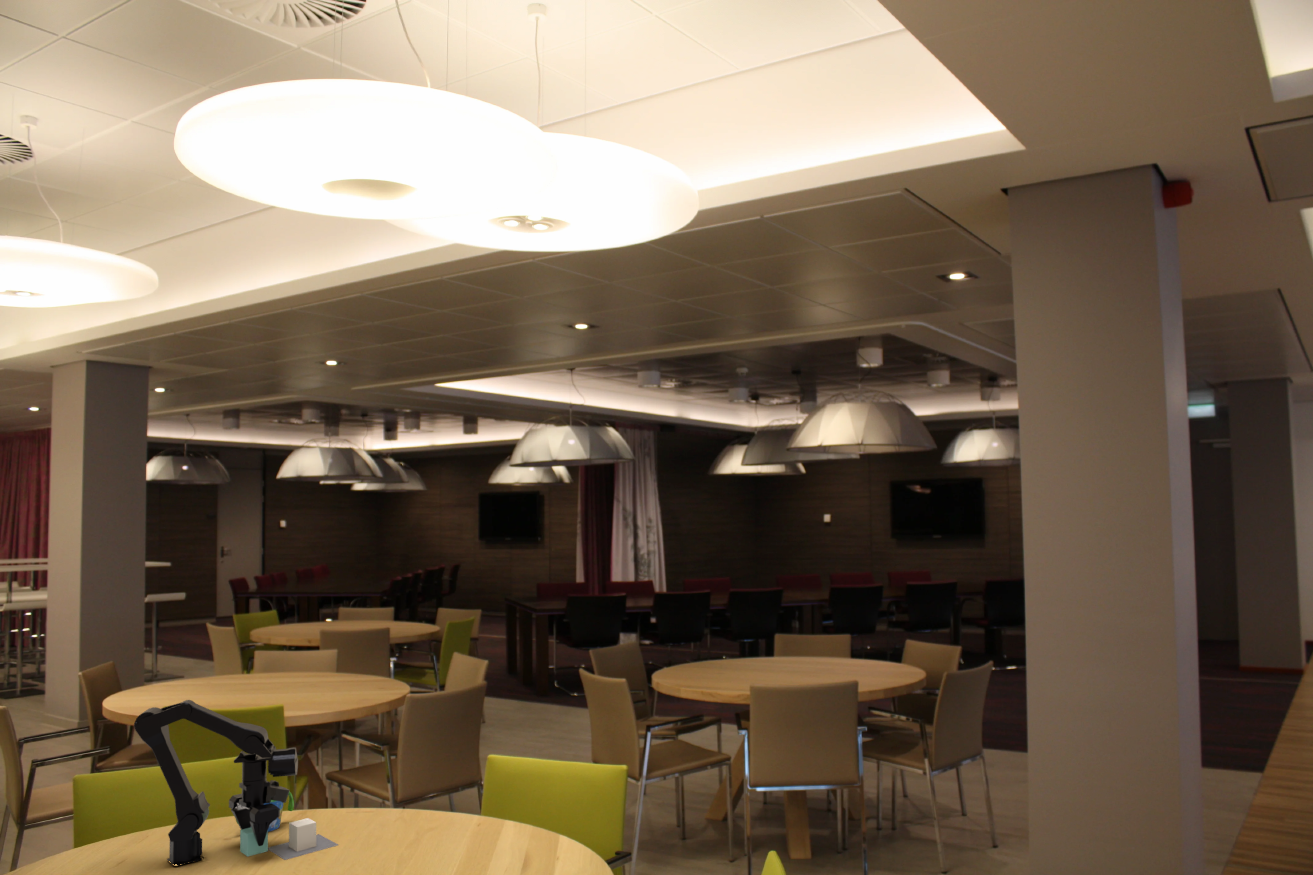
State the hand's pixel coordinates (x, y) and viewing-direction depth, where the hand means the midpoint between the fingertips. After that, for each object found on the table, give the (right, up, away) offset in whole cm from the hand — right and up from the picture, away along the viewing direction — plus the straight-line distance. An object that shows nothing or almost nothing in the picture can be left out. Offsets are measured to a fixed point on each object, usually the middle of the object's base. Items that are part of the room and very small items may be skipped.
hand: (253, 841), depth 239 cm
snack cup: (-4, -5, +17) cm, 19 cm away
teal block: (0, -3, 0) cm, 3 cm away
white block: (+12, -2, +2) cm, 12 cm away
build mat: (+12, -3, +2) cm, 12 cm away
